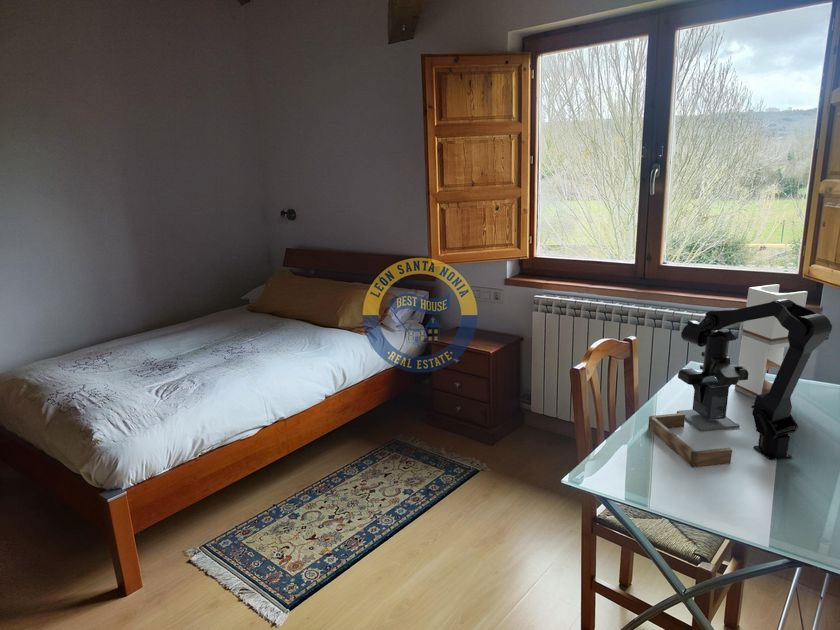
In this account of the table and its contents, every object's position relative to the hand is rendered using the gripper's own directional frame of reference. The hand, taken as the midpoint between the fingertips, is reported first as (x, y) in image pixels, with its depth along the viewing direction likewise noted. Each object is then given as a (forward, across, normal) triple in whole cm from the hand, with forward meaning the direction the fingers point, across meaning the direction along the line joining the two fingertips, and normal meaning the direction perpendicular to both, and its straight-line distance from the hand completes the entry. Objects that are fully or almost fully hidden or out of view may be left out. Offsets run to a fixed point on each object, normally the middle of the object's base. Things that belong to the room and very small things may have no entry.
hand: (709, 401), depth 165 cm
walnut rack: (+6, -14, -12) cm, 19 cm away
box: (+4, 0, 0) cm, 4 cm away
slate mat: (+6, 0, 0) cm, 6 cm away
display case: (+6, +29, +14) cm, 33 cm away
